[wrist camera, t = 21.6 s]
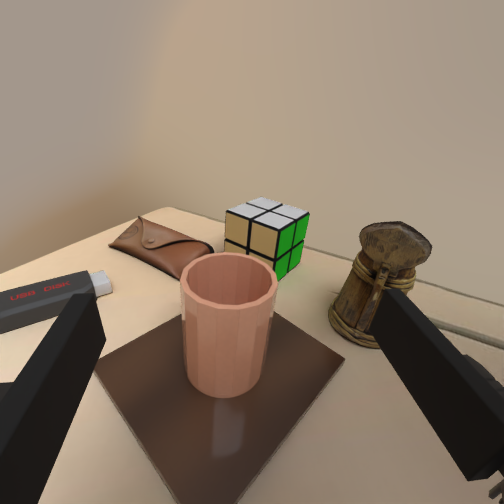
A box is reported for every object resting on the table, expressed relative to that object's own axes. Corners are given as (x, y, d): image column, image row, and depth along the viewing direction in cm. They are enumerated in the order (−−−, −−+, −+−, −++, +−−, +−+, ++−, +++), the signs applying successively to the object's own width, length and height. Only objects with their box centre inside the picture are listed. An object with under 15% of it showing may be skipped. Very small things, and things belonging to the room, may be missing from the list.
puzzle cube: (255, 244, 54) (260, 195, 49) (300, 263, 49) (311, 211, 44) (222, 264, 47) (224, 209, 42) (271, 288, 42) (280, 230, 37)
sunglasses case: (103, 244, 48) (115, 208, 48) (134, 249, 54) (145, 217, 54) (181, 281, 41) (196, 239, 41) (206, 281, 47) (219, 245, 47)
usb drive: (-1, 307, 34) (-10, 290, 32) (104, 278, 41) (101, 262, 39) (-1, 334, 30) (-11, 315, 29) (114, 297, 37) (111, 281, 36)
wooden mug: (305, 349, 32) (344, 207, 23) (338, 293, 43) (375, 178, 34) (383, 391, 29) (466, 239, 20) (399, 318, 39) (459, 196, 30)
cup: (278, 362, 29) (296, 279, 24) (221, 417, 24) (227, 326, 18) (227, 321, 34) (231, 244, 28) (169, 359, 28) (161, 272, 23)
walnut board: (343, 364, 31) (345, 358, 31) (204, 546, 18) (204, 540, 17) (233, 289, 41) (233, 284, 41) (92, 370, 28) (89, 363, 27)
